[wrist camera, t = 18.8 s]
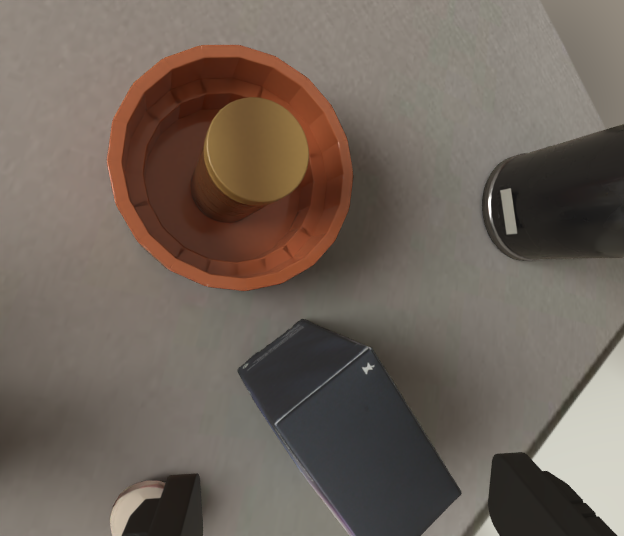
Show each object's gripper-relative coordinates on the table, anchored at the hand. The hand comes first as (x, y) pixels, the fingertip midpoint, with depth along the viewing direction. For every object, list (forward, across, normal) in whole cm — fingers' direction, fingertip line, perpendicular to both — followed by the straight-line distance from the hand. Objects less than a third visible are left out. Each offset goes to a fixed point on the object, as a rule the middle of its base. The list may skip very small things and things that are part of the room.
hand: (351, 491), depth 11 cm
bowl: (+20, -5, +8) cm, 22 cm away
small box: (+19, 0, -8) cm, 20 cm away
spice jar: (+19, -5, +8) cm, 21 cm away
